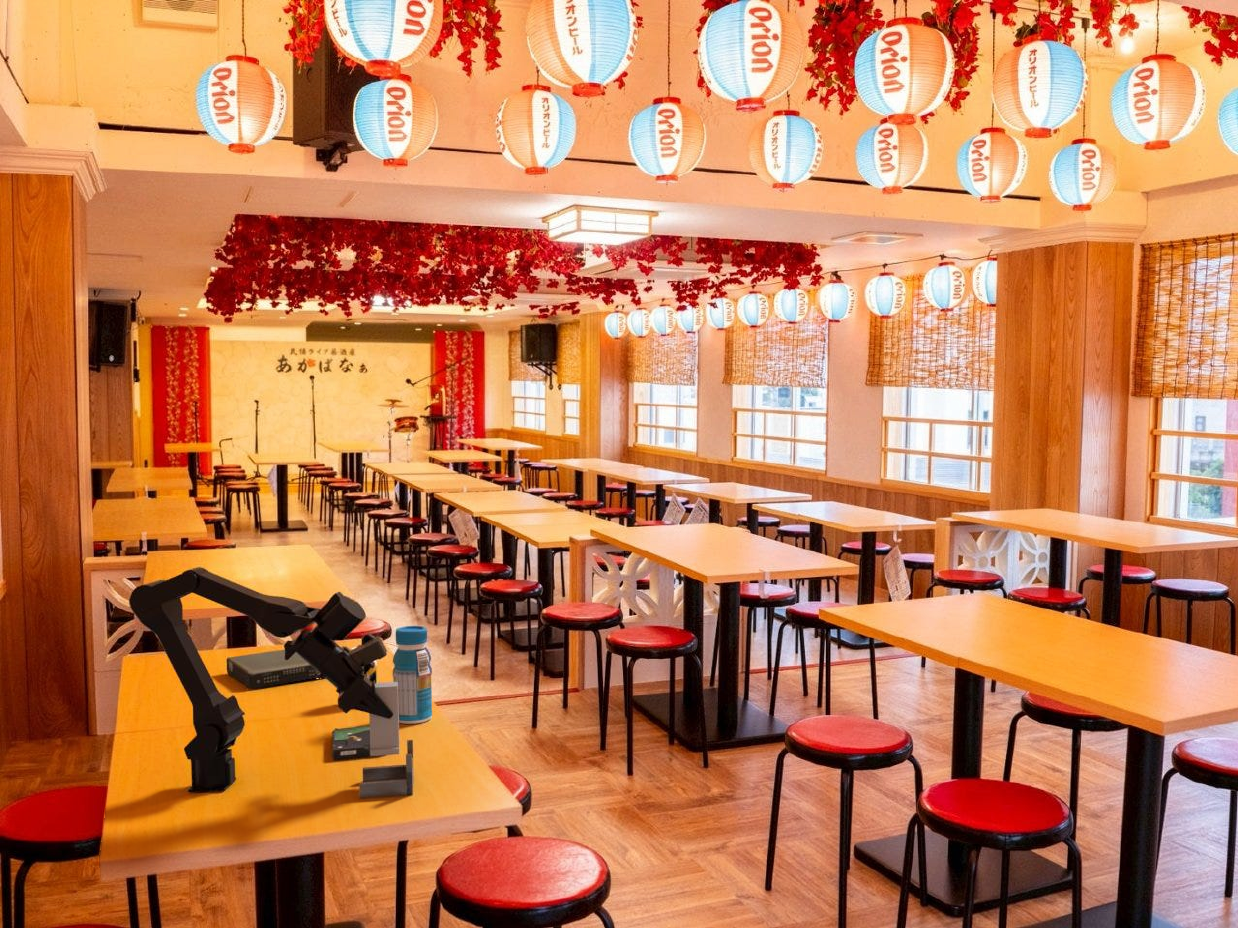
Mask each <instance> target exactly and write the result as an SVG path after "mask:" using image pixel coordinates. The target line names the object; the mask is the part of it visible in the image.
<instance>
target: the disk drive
mask: <svg viewBox="0 0 1238 928" xmlns="http://www.w3.org/2000/svg"><path fill="white" fill-rule="evenodd" d="M331 739H332V740H331V742H332V743H331V744H332V760H333V762H334V761H335V762H336V761H345V760H356V759H363V758H364V759H365V758H374V757H375V758H376V757H378V756H370V724H368V725H358V726H353V727H344V728H343V727H341V728H338V727H336V728H334V729H332V731H331ZM386 756H387V755H380V756H379V757H386Z"/></svg>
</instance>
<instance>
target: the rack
mask: <svg viewBox="0 0 1238 928" xmlns="http://www.w3.org/2000/svg"><path fill="white" fill-rule="evenodd" d="M406 746H407V747H406V749H407V750H406V753H405V764H394V765H393V764H392V765H382V766H381V765H379V766H365V767H362V782H359V785H358V786H359V799H373V798H374V799H375V798H376V799H377V798H387V796H390V797H402V796H412V795H414V794H413V793H414V780H415V778H414V777H415V776H414V772H415V771H414V770H415V769H414V740H413V739H407V740H406Z"/></svg>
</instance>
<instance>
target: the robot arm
mask: <svg viewBox="0 0 1238 928" xmlns="http://www.w3.org/2000/svg"><path fill="white" fill-rule="evenodd" d="M190 594H194V595H197V596H200V597H202V598H204V599H207V600H209V601H211V602H213V603H216V604H219V605H221V606H224V607H225V608H228V609H230V610H233V611H235V612H237V613H240V614H242V615H245V616H247V617H249V618H250V619H252V621H253V620H254V622H255V624H257V625H258V626H259V627H260V628H261V629H263V630H264V631H265V632H267V633H269V634H271V635H272V636H273V637H276V638H279V639H284V638H288V637H291V636H292V635H294V634H296V633H299V632H301V631H302V630H303V631H302V632H301V633H300V634H299V635H297V637H295V638H294V639H293V640H287V641H286V642H285V643H284V644H283V648H284V650H285V660H289V659H290V658H291V657H292V656H293V655H294V654H295V653H297V654H298V655H299V656H301V657H302V658H303V659H304V660H305V661H306V662H307V663H309V664H310V665H311V666H312V667H313V668H314V669H315V670H317V671H318V672H319V675H318V676H319V677H320V678H321V679H320V680H324V679H326V680H327V681H328V682H329V683H331V685H332V686H334V687H335V688H336V690H335V692H337V694H338V698H337V707H338V708H339V709H340V710H341V711H342V712H343V713H345V714H347V713H349V712H350V711H351V710H354V711H355V710H356V711H359V712H362V713H367V714H369V713H370V714H374V715H377V716H381V717H384V718H387V719H390V718H391V717H392V716H393V713H392V711H391V710H390V709H389V708H388V706H387V705H386V704H385V703H384V701H383V700H382V699H381V698H380V697H379V695H378V694H377V693H376V691H375V683H377V680H378V671H377V672H376V670H375V671H374V672H373V673H372V674H371V675H368V674H366V673H367V672H368V671H369V670H370V669H371V668H372V669H373V668H374V667H375V662H373V661H375V660H376V661H377V660H381V659H383V658H385V657H386V656H387V655H388V650H387V648H386V646H385V645H384V642H383V639H381V636H380V635H376V636H374V635H373V634H371V633H370V632H369V633H366V634H364V635H361V644H358V645H357V646H355V647H356V648H354V647H353V648H354V649H352V648H349V647H348V646H346V645H345V646H344V645H343V646H341V645H339V644H338V643H337V642H336V640H337V641H344V640H346V638H347V637H348V636H349V635H350V634H351V633H352V632H353V631H354V630H355V629H356V628H357V627H359V625H360V624H361V623H362V622H363V621H364V620H365V619H366V617H367V615H366V612H365V609H364V608H363V607H362V605H361V604H360V603H359V602H358V601H355V600H353V598H350V597H349V596H346V595H344V594H343V593H342V592H341V591H337V592H335V593H334V594H332V596H331V597H330V598H329V600H328V601H327V602H326V603H325V604H324V606H322V607H321V608H317V607H312V606H307V605H306V604H305V603H304V602H303V601H302V600H298V599H293V598H289V597H286V596H278V595H277V596H275V595H268V594H265V593H264V594H263V593H262V592H258V591H256V590H254V589H251V588H250V587H249V588H248V587H247V586H244V585H242V584H239V583H237V582H234V581H231V580H230V579H227V578H225V577H223V576H221V575H218V574H216V573H213V572H210V571H209V570H208V569H206V568H205V567H201V566H199V567H194V568H190V569H187V570H185V571H182V573H180V574H179V575H178V574H177V575H176V576H173V577H171V578H169V579H158V580H155V581H151V582H147V583H145V584H142V585H138V586H136V587H135V588H134V589H133V590H132V592H131V594H130V596H129V599H128V603H129V607H130V609H131V611H132V612H133V614H134V615H135V617H136V618H137V619H138V621H139V622H140V623H141V624H142V625H143V626H145V627H146V628H147V629H149V630H150V631H151V632H152V633H154V634H155V636H156V637H157V638H158V641H159V643H160V645H161V646H162V648H163V651H164V652H165V654H166V656H167V658H168V660H169V662H170V664H171V667H172V668H173V670H174V672H175V674H176V676H177V678H178V679H179V681H180V683H181V685H182V688H183V689H184V691H185V693H186V695H187V697H188V699H189V701H190V703H191V706H192V724H193V727H194V731H195V734H196V735H195V736H194V737H193V738H192V739H191V741H189V742H188V743H187V744H186V745H185V746H184V748H183V751H184V753H185V757H186V759H187V760H188V761H189V760H190V770H191V771H190V772H191V773H190V775H191V785H190V786H189V787H188V788H187V792H189V793H198V792H199V793H200V792H201V793H202V792H203V793H206V792H211V793H212V792H213V793H214V792H217V793H218V792H224V791H226V790H227V789H228V788H229V787H230V786H231V785H232V784H234V782H236V780H237V776H236V760H235V759H236V758H234V757H233V753H232V752H233V751H232V748H231V747H233V746H235V744H236V741H237V738H238V737H239V736H240V735H241V734H242V733H243V730H244V729H245V724H246V723H245V718H244V716H245V715H246V713H245V712H244V711H243V709H242V708H241V707H240V705H239V702H238V698H237V697H236V696H235V695H234V694H233V695H230V696H229V697H226V696H225V695H223V694H222V693H221V692H220V691H219V690H218V687H217V686H216V684H215V683H214V680H213V678H212V676H211V675H210V673H209V670H208V668H207V667H206V664H205V663H204V661H203V658H202V657H201V654H200V652H199V651H198V649H197V647H196V644H195V643H194V641H193V640H192V638H191V636H190V634H189V631H188V630H187V627H186V625H185V624H184V621H183V620H184V619H183V609H184V608H183V603H182V600H181V599H182V598H185V597H186V596H189V595H190ZM314 624H316V625H315V626H314V628H312V629H311V630H308V629H306V628H308V627H310V626H312V625H314ZM304 629H305V630H304ZM351 649H352V650H351ZM365 674H366V675H365Z"/></svg>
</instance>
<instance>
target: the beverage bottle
mask: <svg viewBox="0 0 1238 928" xmlns="http://www.w3.org/2000/svg"><path fill="white" fill-rule="evenodd" d="M427 629H428V628H427V627H426V626H421V625H406V626H402V627H398V628H396V629H395V643H396V646H398V648H397V649H396V651H395V652H394V655H393V657H392V664H393V666H394V667H393V669H392V679H393V681H392V682H398V711H399V724H405V725H412V724H413V725H416V724H421V723H425V722H428V721H430V720H431V719H432V717H433V705H432V704H433V702H432V701H433V695H432V693H433V692H432V689H433V687H432V683H433V682H432V674H433V668H432V666H431V661H432V657H431V653H430V651H429V649H428V648H427V646H426V644H427V643H428V630H427Z"/></svg>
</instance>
